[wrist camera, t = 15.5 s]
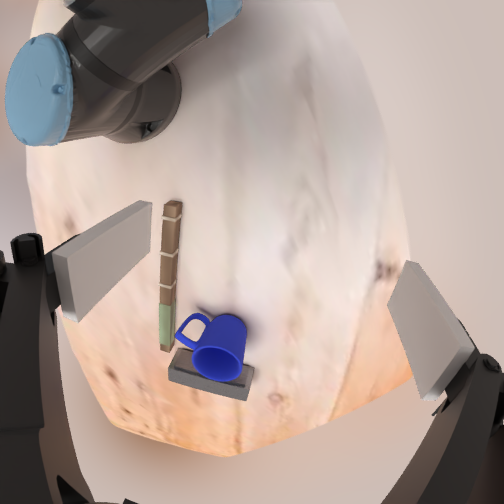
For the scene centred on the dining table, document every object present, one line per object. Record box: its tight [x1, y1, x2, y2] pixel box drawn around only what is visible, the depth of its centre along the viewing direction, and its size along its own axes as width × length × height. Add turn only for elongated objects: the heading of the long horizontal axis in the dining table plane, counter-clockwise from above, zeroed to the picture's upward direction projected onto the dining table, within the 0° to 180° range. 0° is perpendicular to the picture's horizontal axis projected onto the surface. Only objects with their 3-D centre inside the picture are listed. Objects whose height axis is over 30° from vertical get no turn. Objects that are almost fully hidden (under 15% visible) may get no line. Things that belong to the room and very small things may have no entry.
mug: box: [175, 313, 247, 381], centre depth 48 cm, size 8×12×10 cm
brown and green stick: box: [159, 201, 182, 353], centre depth 49 cm, size 2×30×3 cm, turn 170°
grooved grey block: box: [168, 348, 254, 401], centre depth 55 cm, size 16×5×6 cm, turn 80°
